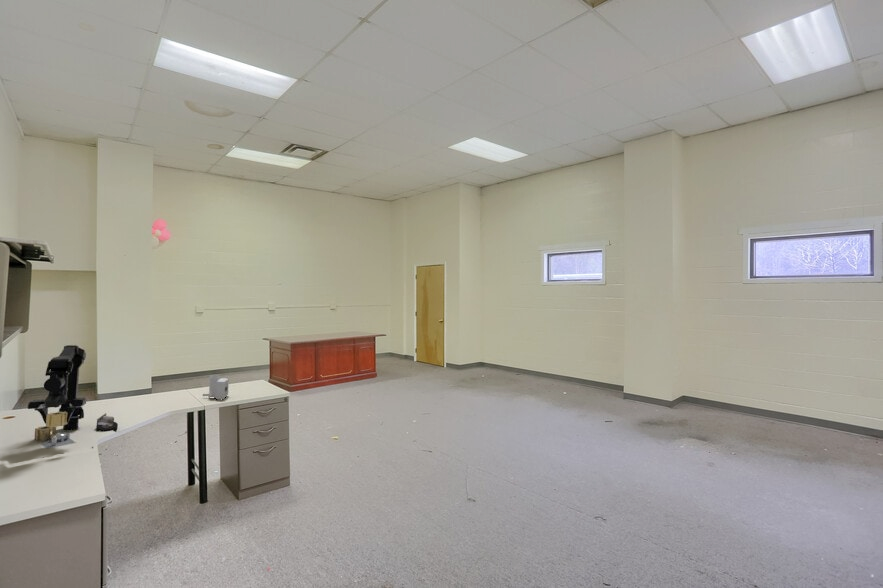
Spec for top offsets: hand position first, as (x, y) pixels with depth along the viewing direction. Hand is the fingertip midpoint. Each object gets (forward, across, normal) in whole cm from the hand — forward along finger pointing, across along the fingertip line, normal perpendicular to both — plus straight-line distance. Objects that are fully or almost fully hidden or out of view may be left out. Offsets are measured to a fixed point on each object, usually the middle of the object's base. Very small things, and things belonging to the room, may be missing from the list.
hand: (56, 422), depth 192 cm
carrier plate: (+11, -2, +6) cm, 13 cm away
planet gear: (+1, 0, 0) cm, 1 cm away
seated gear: (+10, -7, +11) cm, 16 cm away
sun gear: (+10, 0, +7) cm, 12 cm away
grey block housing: (+11, +59, +85) cm, 104 cm away
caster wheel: (+11, +14, +22) cm, 29 cm away
